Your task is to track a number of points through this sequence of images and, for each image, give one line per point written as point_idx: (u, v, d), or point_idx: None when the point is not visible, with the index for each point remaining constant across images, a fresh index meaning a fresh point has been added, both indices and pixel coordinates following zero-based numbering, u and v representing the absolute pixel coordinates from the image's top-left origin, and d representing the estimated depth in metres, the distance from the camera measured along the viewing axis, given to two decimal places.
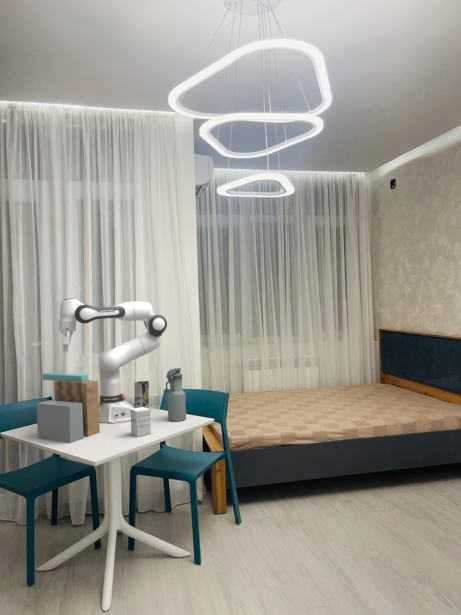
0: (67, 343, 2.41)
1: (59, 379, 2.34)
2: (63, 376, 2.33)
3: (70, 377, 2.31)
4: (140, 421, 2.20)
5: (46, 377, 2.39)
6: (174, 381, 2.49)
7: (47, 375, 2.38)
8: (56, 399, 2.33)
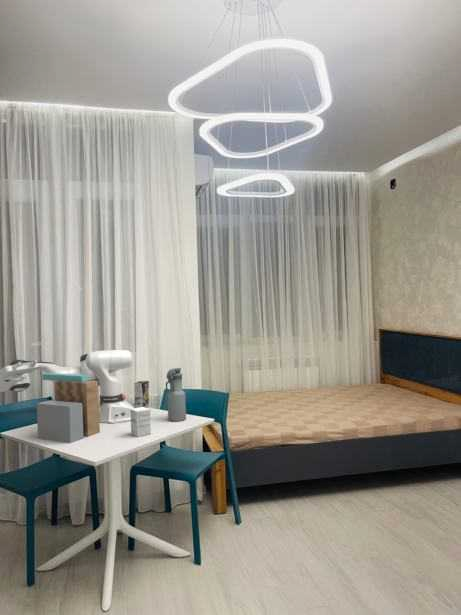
0: None
1: (59, 379, 2.34)
2: (63, 376, 2.33)
3: (70, 377, 2.31)
4: (140, 421, 2.20)
5: (46, 377, 2.39)
6: (174, 381, 2.49)
7: (47, 375, 2.38)
8: (56, 399, 2.33)
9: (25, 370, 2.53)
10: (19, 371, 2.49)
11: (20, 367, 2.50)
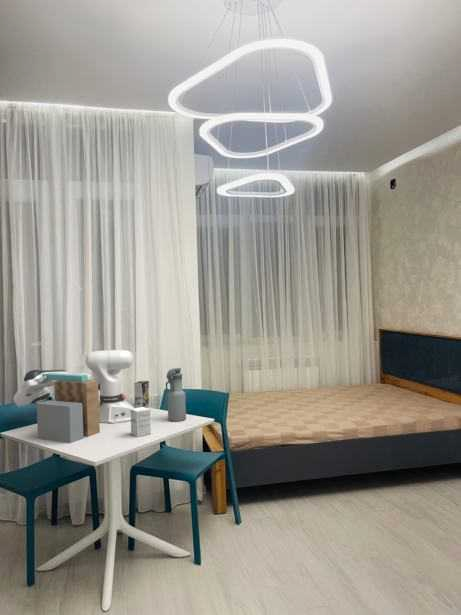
0: None
1: (59, 379, 2.34)
2: (63, 376, 2.33)
3: (70, 377, 2.31)
4: (140, 421, 2.20)
5: None
6: (174, 381, 2.49)
7: (47, 375, 2.38)
8: (56, 399, 2.33)
9: (47, 384, 2.44)
10: (41, 385, 2.41)
11: (42, 381, 2.41)
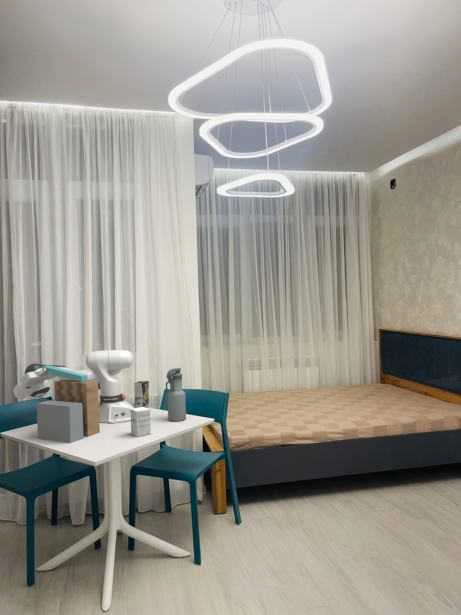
0: None
1: (59, 374, 2.35)
2: (63, 372, 2.33)
3: (70, 375, 2.31)
4: (140, 421, 2.20)
5: None
6: (174, 381, 2.49)
7: (47, 368, 2.38)
8: (56, 399, 2.33)
9: (46, 376, 2.44)
10: (41, 377, 2.41)
11: (42, 373, 2.41)
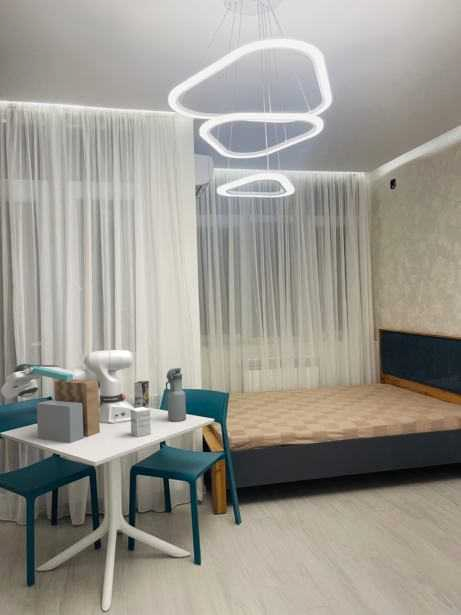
0: None
1: (45, 375, 2.39)
2: (49, 372, 2.37)
3: (56, 374, 2.35)
4: (140, 421, 2.20)
5: None
6: (174, 381, 2.49)
7: (34, 369, 2.43)
8: (56, 399, 2.33)
9: (33, 376, 2.49)
10: (27, 377, 2.46)
11: (28, 373, 2.46)
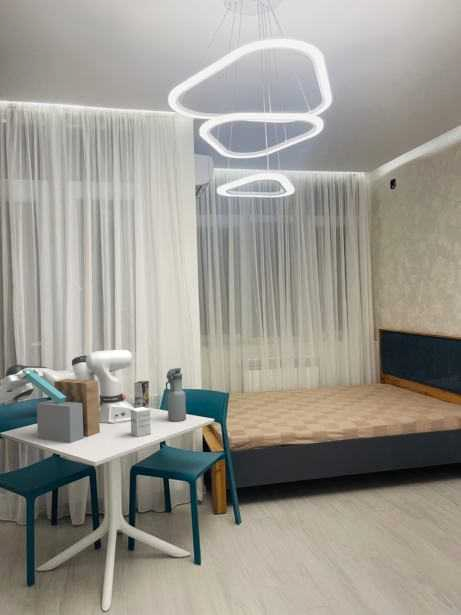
0: None
1: (37, 386, 2.26)
2: (42, 386, 2.25)
3: (49, 392, 2.23)
4: (140, 421, 2.20)
5: None
6: (174, 381, 2.49)
7: None
8: None
9: None
10: (23, 381, 2.31)
11: None
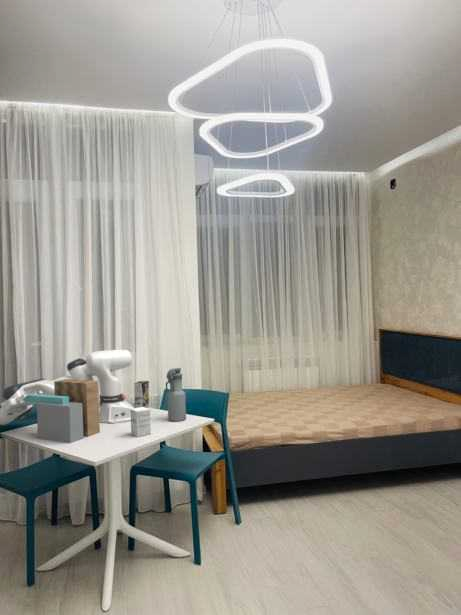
0: None
1: (39, 400, 2.26)
2: (43, 397, 2.24)
3: (50, 399, 2.22)
4: (140, 421, 2.20)
5: (25, 398, 2.30)
6: (174, 381, 2.49)
7: (27, 396, 2.30)
8: None
9: (30, 402, 2.34)
10: (23, 403, 2.31)
11: None
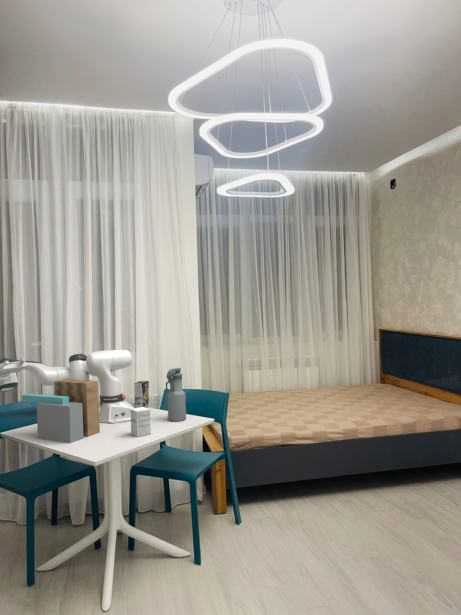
0: None
1: (39, 400, 2.26)
2: (43, 397, 2.24)
3: (50, 399, 2.22)
4: (140, 421, 2.20)
5: (25, 398, 2.30)
6: (174, 381, 2.49)
7: (27, 396, 2.30)
8: None
9: (12, 369, 2.43)
10: (6, 370, 2.40)
11: (7, 366, 2.40)
